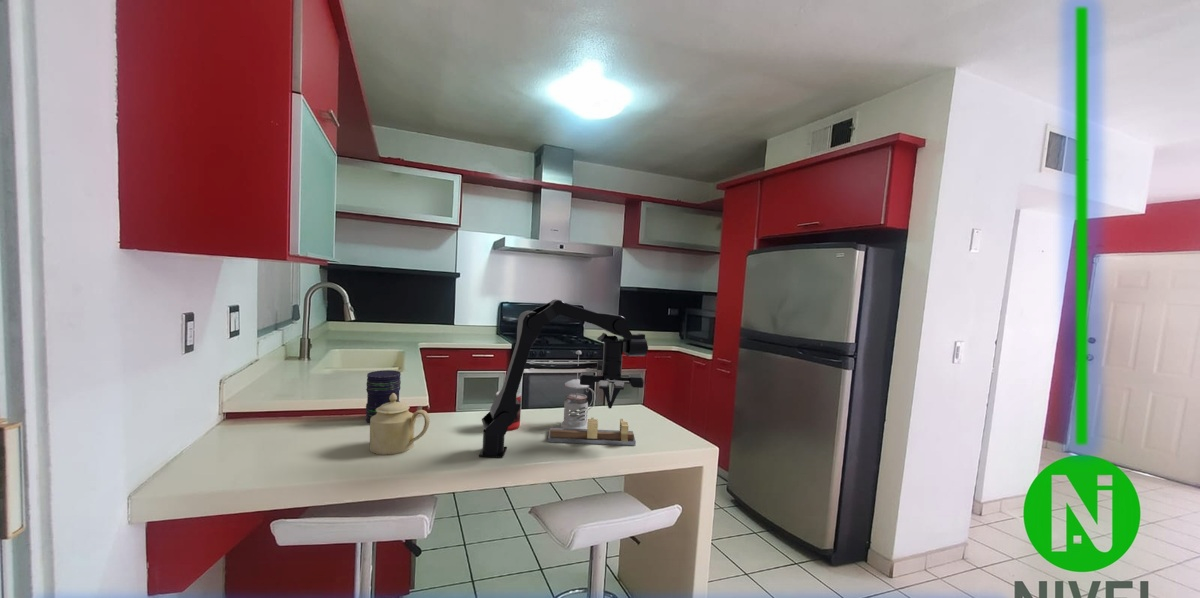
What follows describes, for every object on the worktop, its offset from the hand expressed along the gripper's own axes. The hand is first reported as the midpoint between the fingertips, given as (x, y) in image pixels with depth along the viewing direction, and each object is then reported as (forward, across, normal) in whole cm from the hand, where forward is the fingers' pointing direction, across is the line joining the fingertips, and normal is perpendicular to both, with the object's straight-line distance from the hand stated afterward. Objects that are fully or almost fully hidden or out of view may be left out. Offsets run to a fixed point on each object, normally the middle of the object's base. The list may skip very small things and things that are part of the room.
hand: (609, 408), depth 132 cm
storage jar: (+11, +72, -12) cm, 74 cm away
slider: (+9, +5, -1) cm, 10 cm away
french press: (+11, +10, -14) cm, 20 cm away
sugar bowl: (+11, +58, +10) cm, 60 cm away
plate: (+10, +5, -2) cm, 12 cm away
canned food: (+11, +32, -10) cm, 35 cm away
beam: (+9, +5, -1) cm, 11 cm away
